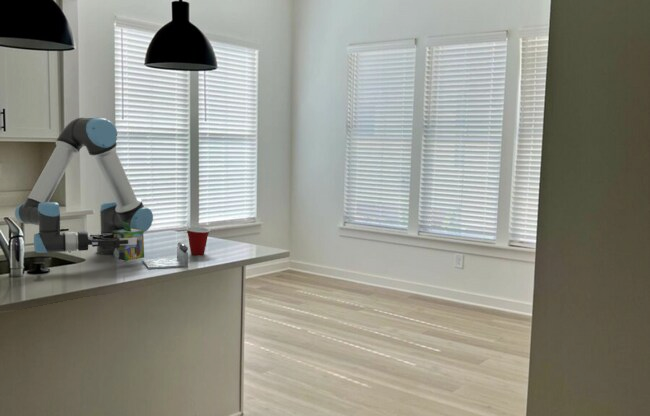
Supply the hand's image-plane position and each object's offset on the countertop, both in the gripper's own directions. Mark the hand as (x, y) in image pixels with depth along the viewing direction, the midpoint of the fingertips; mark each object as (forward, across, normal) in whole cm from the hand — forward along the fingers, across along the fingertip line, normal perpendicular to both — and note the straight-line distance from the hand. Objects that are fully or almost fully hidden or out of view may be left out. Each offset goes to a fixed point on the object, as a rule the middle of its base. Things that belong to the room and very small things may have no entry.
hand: (134, 238), depth 250 cm
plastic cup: (+30, -18, -12) cm, 37 cm away
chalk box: (-2, 0, -8) cm, 9 cm away
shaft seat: (+12, 0, -12) cm, 17 cm away
